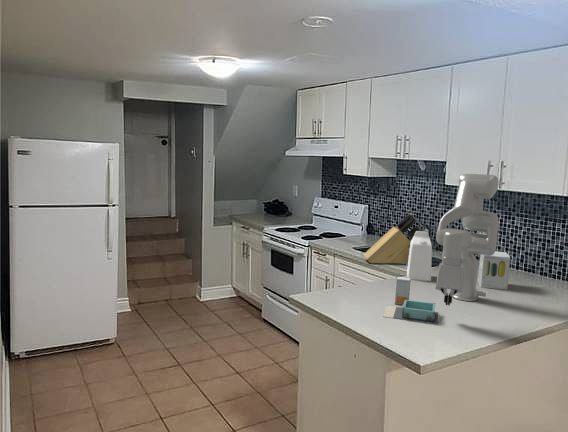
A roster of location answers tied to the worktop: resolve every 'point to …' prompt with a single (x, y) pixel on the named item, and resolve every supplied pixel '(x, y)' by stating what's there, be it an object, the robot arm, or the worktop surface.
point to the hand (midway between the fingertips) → (447, 304)
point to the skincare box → (402, 290)
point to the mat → (397, 314)
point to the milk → (420, 257)
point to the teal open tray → (418, 310)
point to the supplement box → (494, 270)
